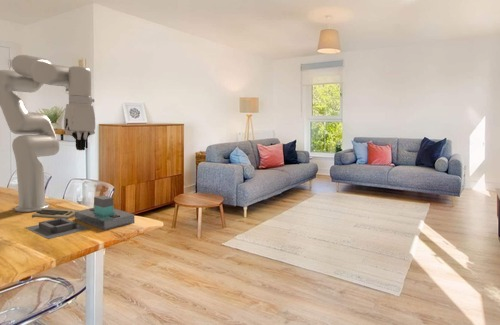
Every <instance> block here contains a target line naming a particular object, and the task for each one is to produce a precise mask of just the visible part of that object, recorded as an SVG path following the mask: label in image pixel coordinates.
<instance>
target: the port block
mask: <svg viewBox="0 0 500 325" xmlns="http://www.w3.org/2000/svg"><path fill="white" fill-rule="evenodd" d="M79 210H80V209H79ZM113 211H114V214H111V215H107V216H101V215H98V214H95V209H94V207H91V208H86V209H82V210H80V211H75V216H74V219H75V220H76V221H79V222H81V223H84V224H87V225H90V226H92V227H94V228H98V229H100V230H103V231H107V230H110V229H113V228H114V229H115V228H118V227H123V226H126V225H129V224H135V214H133V213H131V212H128V211H123V210H120V209H117V208H114V207H113Z"/></svg>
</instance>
